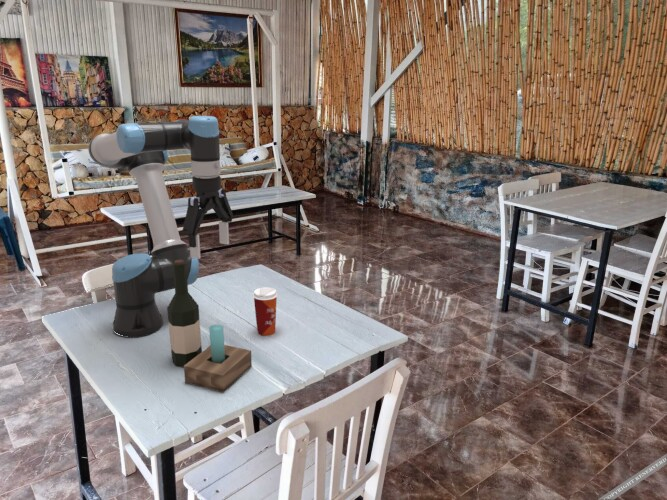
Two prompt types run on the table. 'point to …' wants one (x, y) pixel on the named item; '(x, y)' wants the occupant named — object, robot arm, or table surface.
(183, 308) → the wine bottle
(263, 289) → the paper cup
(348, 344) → the table surface
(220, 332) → the pin
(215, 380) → the bore block
